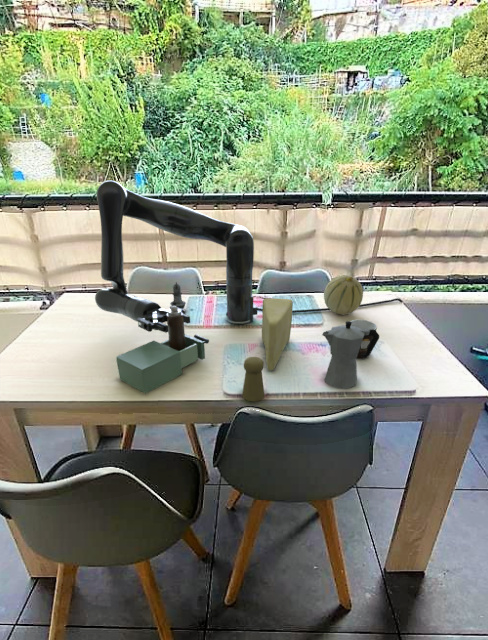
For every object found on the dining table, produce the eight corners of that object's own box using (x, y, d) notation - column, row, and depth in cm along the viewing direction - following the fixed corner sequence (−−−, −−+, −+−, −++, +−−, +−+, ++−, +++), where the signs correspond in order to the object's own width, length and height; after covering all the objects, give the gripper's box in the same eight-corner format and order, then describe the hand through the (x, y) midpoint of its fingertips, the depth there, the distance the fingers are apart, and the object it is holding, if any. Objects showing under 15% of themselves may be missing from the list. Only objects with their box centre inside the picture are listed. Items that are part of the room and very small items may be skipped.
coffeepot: (320, 389, 114) (327, 329, 105) (314, 372, 122) (320, 315, 113) (376, 388, 114) (388, 328, 105) (366, 371, 123) (376, 314, 113)
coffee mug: (372, 350, 134) (378, 321, 129) (370, 362, 127) (376, 332, 122) (336, 345, 137) (340, 317, 132) (332, 356, 130) (336, 327, 125)
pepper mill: (185, 351, 129) (182, 302, 121) (186, 358, 125) (182, 308, 117) (170, 352, 129) (165, 303, 120) (170, 359, 125) (165, 309, 116)
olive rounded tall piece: (241, 389, 114) (241, 353, 108) (263, 388, 114) (264, 353, 109) (243, 402, 109) (243, 365, 103) (265, 400, 109) (267, 364, 104)
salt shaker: (187, 309, 165) (185, 279, 158) (184, 315, 160) (182, 284, 153) (173, 308, 165) (170, 279, 159) (169, 314, 160) (166, 284, 154)
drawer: (192, 343, 136) (191, 327, 133) (215, 353, 131) (214, 336, 128) (151, 363, 125) (149, 346, 122) (174, 374, 119) (173, 356, 116)
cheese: (287, 372, 122) (290, 325, 114) (254, 370, 123) (254, 323, 115) (290, 340, 141) (293, 297, 133) (261, 338, 142) (262, 296, 134)
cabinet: (156, 362, 127) (153, 340, 123) (182, 374, 121) (180, 351, 117) (119, 379, 118) (115, 356, 115) (145, 393, 112) (142, 369, 108)
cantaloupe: (331, 303, 171) (336, 267, 163) (366, 311, 163) (372, 273, 156) (315, 314, 160) (318, 276, 153) (350, 323, 153) (356, 283, 145)
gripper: (122, 306, 123) (158, 319, 114) (159, 293, 133) (195, 305, 124) (125, 329, 127) (160, 344, 118) (161, 315, 136) (196, 328, 127)
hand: (178, 324), depth 121 cm, fingers open, 8 cm apart
